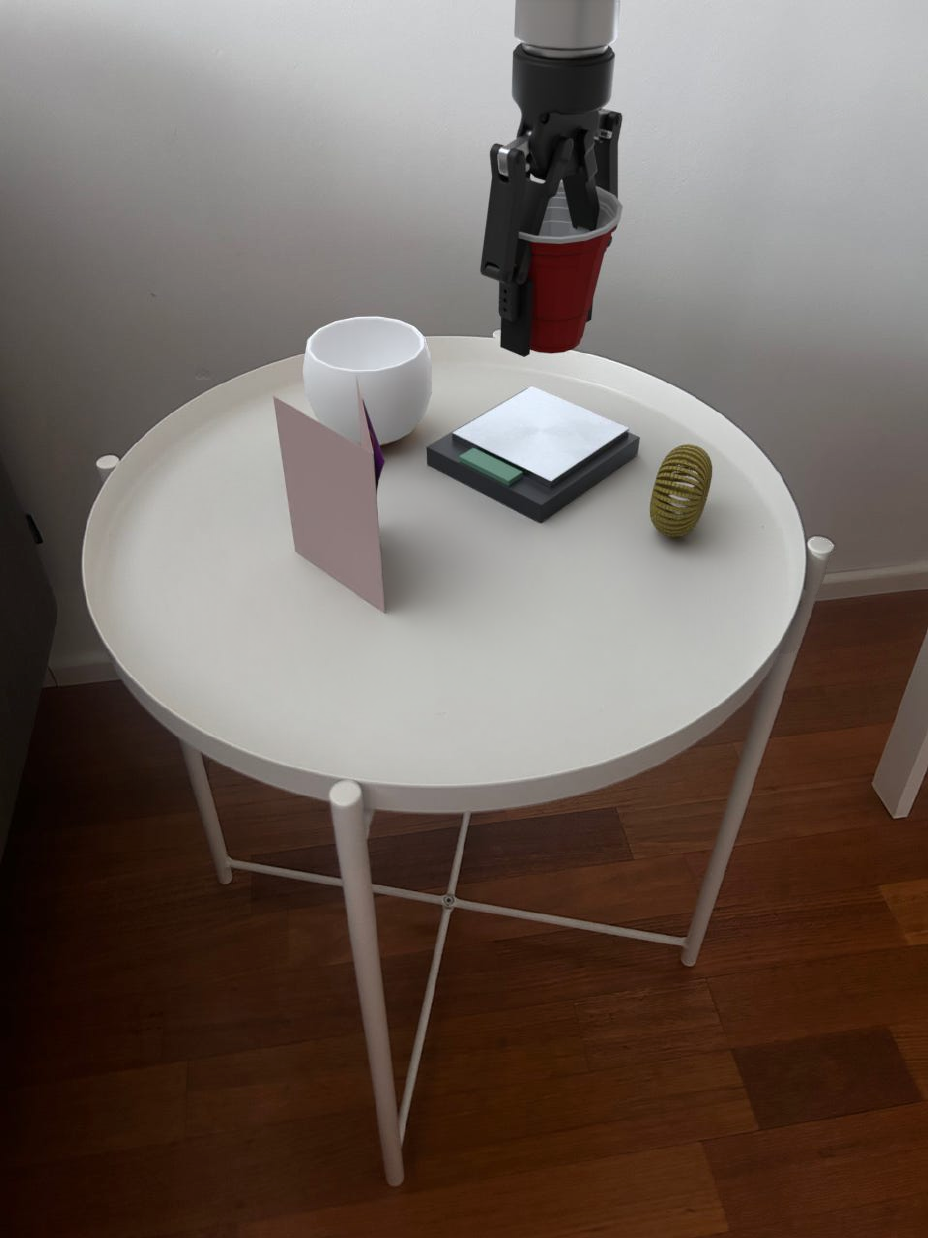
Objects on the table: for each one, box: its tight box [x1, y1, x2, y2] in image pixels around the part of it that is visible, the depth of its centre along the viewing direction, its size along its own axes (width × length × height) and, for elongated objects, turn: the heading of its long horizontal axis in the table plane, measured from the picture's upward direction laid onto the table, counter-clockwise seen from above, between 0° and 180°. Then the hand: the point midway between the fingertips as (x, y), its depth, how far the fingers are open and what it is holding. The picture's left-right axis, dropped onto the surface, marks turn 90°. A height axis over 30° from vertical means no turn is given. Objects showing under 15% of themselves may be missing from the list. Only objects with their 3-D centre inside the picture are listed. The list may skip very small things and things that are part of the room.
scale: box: [426, 385, 641, 524], centre depth 96 cm, size 14×15×3 cm
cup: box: [302, 316, 433, 447], centre depth 98 cm, size 12×12×10 cm
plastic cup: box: [514, 180, 624, 354], centre depth 86 cm, size 11×11×12 cm
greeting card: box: [272, 375, 386, 614], centre depth 79 cm, size 11×7×15 cm, turn 11°
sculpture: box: [649, 443, 713, 538], centre depth 86 cm, size 8×4×8 cm, turn 155°
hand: (546, 332), depth 89 cm, fingers closed on plastic cup, 8 cm apart
